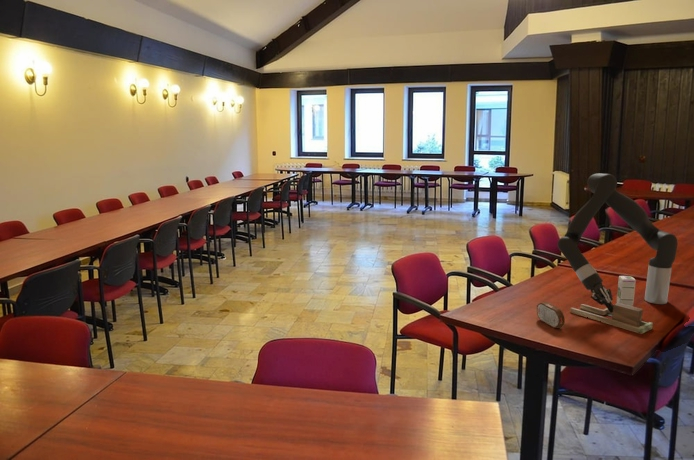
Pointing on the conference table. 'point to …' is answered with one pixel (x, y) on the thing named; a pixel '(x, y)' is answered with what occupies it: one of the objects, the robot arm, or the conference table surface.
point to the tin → (550, 315)
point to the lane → (640, 330)
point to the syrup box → (626, 290)
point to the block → (627, 314)
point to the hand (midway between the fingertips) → (613, 311)
